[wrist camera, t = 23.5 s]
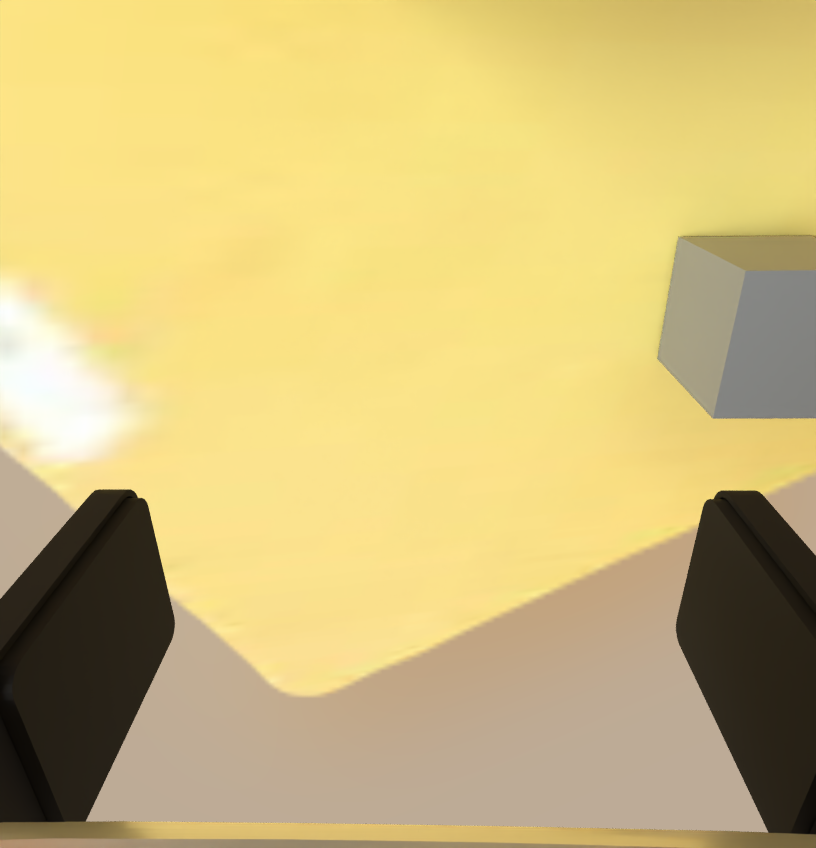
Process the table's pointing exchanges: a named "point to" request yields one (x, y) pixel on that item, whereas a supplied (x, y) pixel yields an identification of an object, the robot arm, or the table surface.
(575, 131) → the table surface
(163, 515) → the table surface
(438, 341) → the table surface
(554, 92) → the table surface
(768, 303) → the grey tapered block
